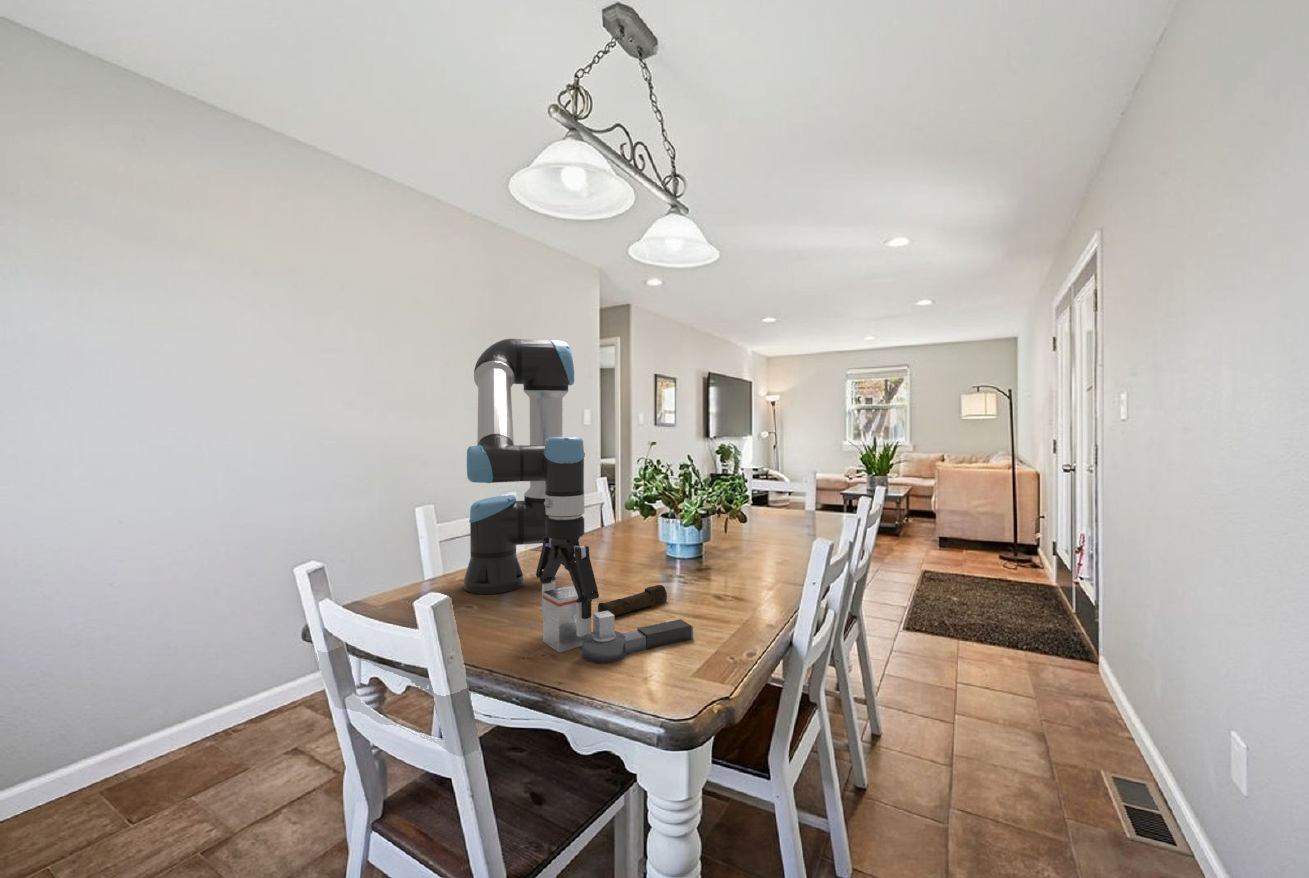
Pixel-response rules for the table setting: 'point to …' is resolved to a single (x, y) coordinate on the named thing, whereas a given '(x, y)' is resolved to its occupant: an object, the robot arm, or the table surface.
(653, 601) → the hand tool
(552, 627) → the red-striped grey block
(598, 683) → the table surface
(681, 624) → the ratchet
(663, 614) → the table surface
